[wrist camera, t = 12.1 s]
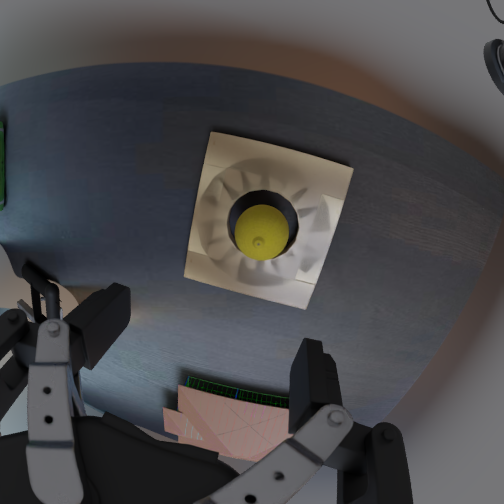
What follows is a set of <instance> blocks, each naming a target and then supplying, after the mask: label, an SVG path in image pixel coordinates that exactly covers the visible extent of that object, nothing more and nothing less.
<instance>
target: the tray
mask: <svg viewBox="0 0 504 504" xmlns="http://www.w3.org/2000/svg"><path fill="white" fill-rule="evenodd" d="M352 173H353V168H350V167H348V166H345V165H342V164H339V163H336V162H332V161H329V160H326V159H323V158H320V157H316V156H313V155H310V154H306V153H303V152H299V151H295V150H292V149H288V148H284V147H280V146H276V145H272V144H268V143H264V142H260V141H256V140H251V139H247V138H242V137H237V136H233V135H228V134H222V133H217V132H211V134H210V138H209V142H208V147H207V151H206V156H205V160H204V165H203V170H202V174H201V179H200V184H199V189H198V194H197V199H196V205H195V210H194V216H193V221H192V227H191V233H190V239H189V245H188V252H187V259H186V265H185V272H184V277H186V278H190V279H193V280H197V281H200V282H203V283H207V284H210V285H214V286H217V287H221V288H224V289H228V290H232V291H235V292H239V293H243V294H246V295H250V296H254V297H258V298H261V299H265V300H269V301H273V302H277V303H281V304H285V305H289V306H293V307H297V308H301V309H305V310H306V308H307V306H308V303H309V301H310V298H311V296H312V293H313V290H314V288H315V285H316V283H317V280H318V277H319V275H320V272H321V269H322V266H323V264H324V261H325V258H326V255H327V252H328V249H329V247H330V244H331V241H332V238H333V235H334V232H335V229H336V226H337V223H338V219H339V216H340V213H341V210H342V207H343V204H344V200H345V197H346V194H347V190H348V187H349V183H350V180H351V176H352ZM264 189H265V190H268V191H272V192H276V193H279V194H280V195H282V196H283V197H284V198H286V199H287V200H288V201H290V202H291V204H292V206H293V208H294V209H295V211H296V213H297V218H298V228H297V232H296V235H295V238H294V239H293V241H292V242H291V243H290V244H289V245H288V247H287V248H285V249H283V250H282V251H281V252H280V253H279V254H278V255H277V256H276V257H274V258H272V259H269V260H265V261H257V260H253V259H251V258H249V257H247V256H246V255H244V254H243V253H242V252H241V250H240V249H239V248H238V246H237V243H236V240H235V238H234V237H233V235H232V234H231V229H230V224H229V218H230V214H231V209H232V207H233V205H234V204H235V203H236V201H237V200H238V198H240V197H241V196H243V195H245V194H246V193H248V192H250V191H256V190H264Z"/></svg>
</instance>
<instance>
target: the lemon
mask: <svg viewBox="0 0 504 504" xmlns="http://www.w3.org/2000/svg"><path fill="white" fill-rule="evenodd" d="M288 238H289V227H288V223H287V221H286V219H285V217H284V215H283V214H282V213H281V212H280V211H279V210H277V209H276V208H274V207H272V206H269V205H255V206H253V207H250V208H248V209H247V210H246V211H244V212H243V213H242V215H241V216H240V217H239V219H238V221H237V223H236V226H235V240H236V243H237V246H238V248H239V249H240V250H241V252H242V253H243V254H244V255H246V256H247V257H249V258H251V259H253V260H257V261H265V260H269V259H272V258H274V257H276V256H277V255H278V254H279V253H280V252H281V251H282V250H283V249H284V247H285V246H286V244H287V241H288Z"/></svg>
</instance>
